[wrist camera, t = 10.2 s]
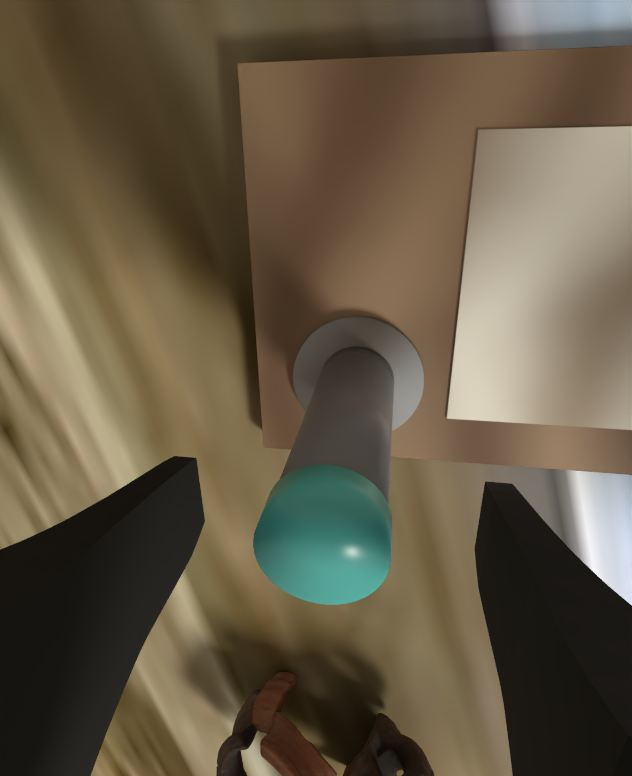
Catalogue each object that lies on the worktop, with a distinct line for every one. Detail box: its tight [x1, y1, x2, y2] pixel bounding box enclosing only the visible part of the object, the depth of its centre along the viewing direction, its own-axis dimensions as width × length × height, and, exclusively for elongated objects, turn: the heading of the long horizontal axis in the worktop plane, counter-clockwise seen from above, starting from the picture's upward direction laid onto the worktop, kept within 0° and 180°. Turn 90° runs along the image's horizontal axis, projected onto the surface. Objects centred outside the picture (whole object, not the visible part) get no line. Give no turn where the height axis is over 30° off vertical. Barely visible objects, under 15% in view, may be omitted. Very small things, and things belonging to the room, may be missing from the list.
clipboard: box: [237, 46, 632, 475], centre depth 17 cm, size 19×14×1 cm
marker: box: [253, 346, 394, 605], centre depth 15 cm, size 3×3×9 cm
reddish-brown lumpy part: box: [217, 671, 434, 776], centre depth 28 cm, size 12×9×8 cm
